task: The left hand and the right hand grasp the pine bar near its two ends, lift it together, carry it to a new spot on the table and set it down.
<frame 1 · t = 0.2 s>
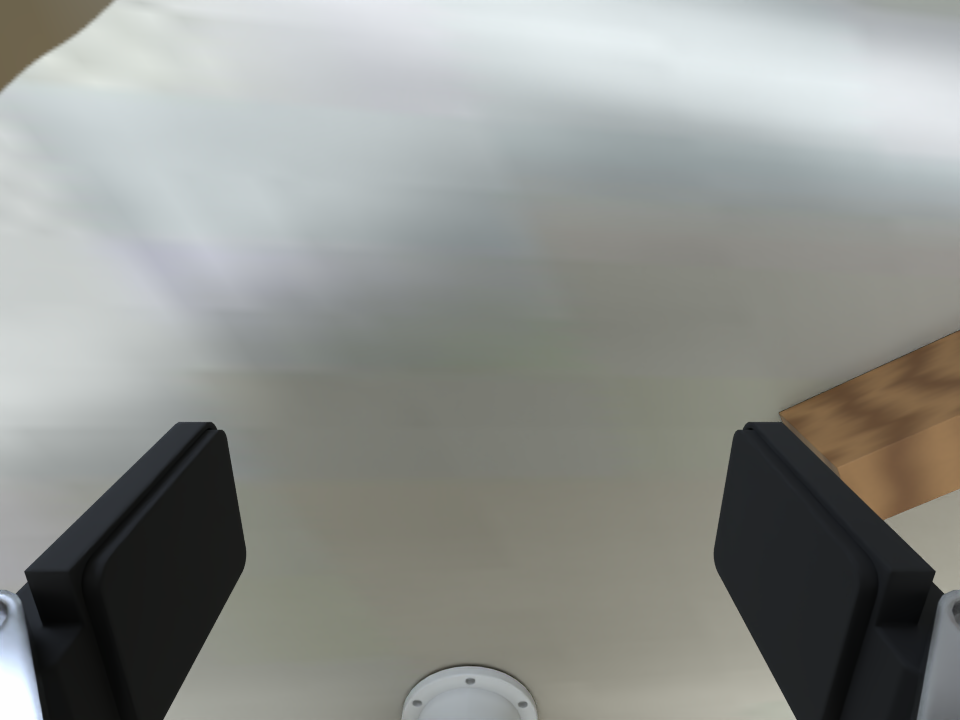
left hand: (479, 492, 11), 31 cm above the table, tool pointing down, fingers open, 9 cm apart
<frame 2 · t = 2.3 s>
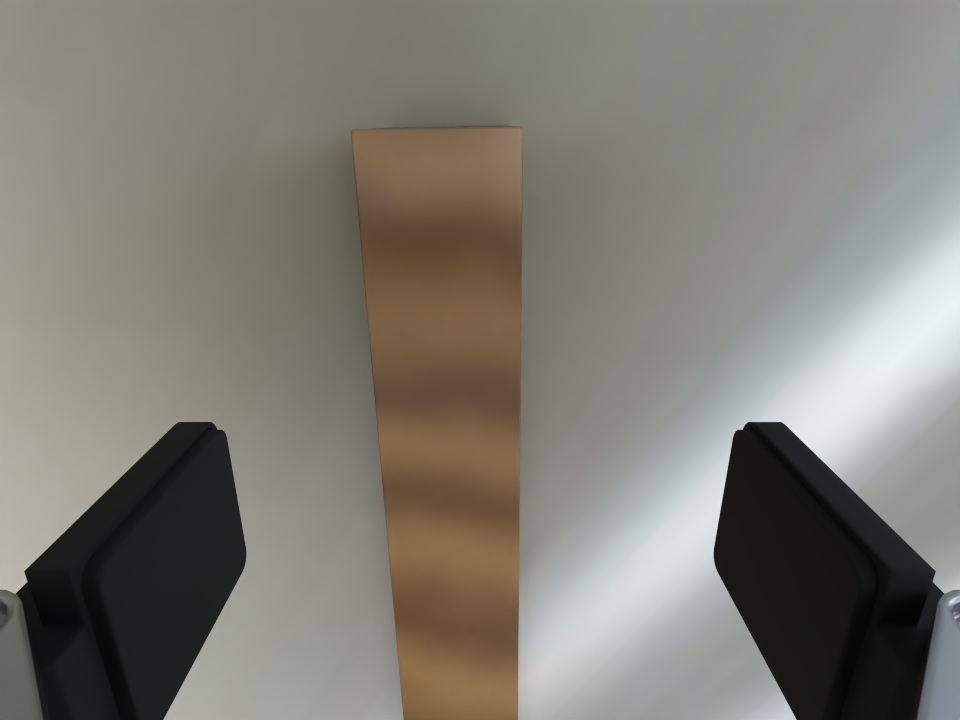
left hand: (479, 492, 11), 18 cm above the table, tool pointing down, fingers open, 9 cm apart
bar: (466, 661, 37), on the table
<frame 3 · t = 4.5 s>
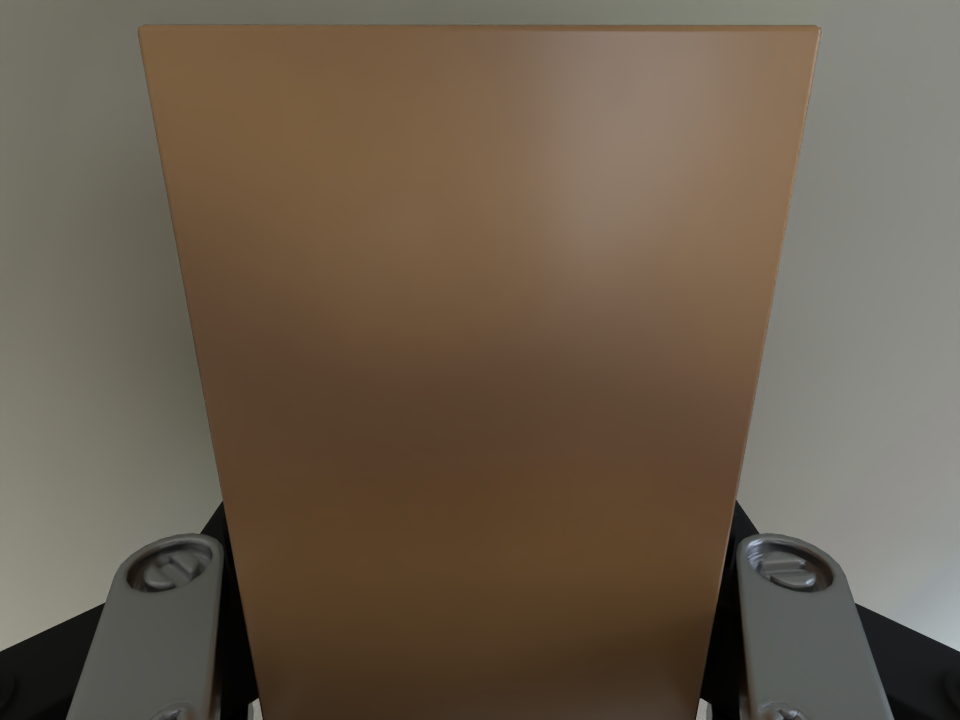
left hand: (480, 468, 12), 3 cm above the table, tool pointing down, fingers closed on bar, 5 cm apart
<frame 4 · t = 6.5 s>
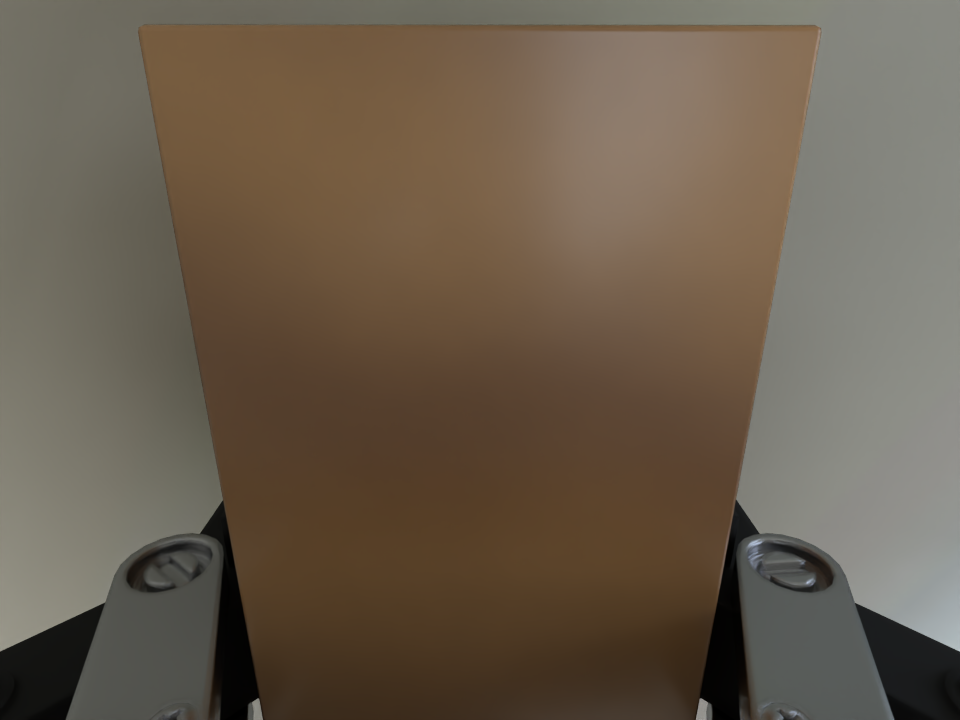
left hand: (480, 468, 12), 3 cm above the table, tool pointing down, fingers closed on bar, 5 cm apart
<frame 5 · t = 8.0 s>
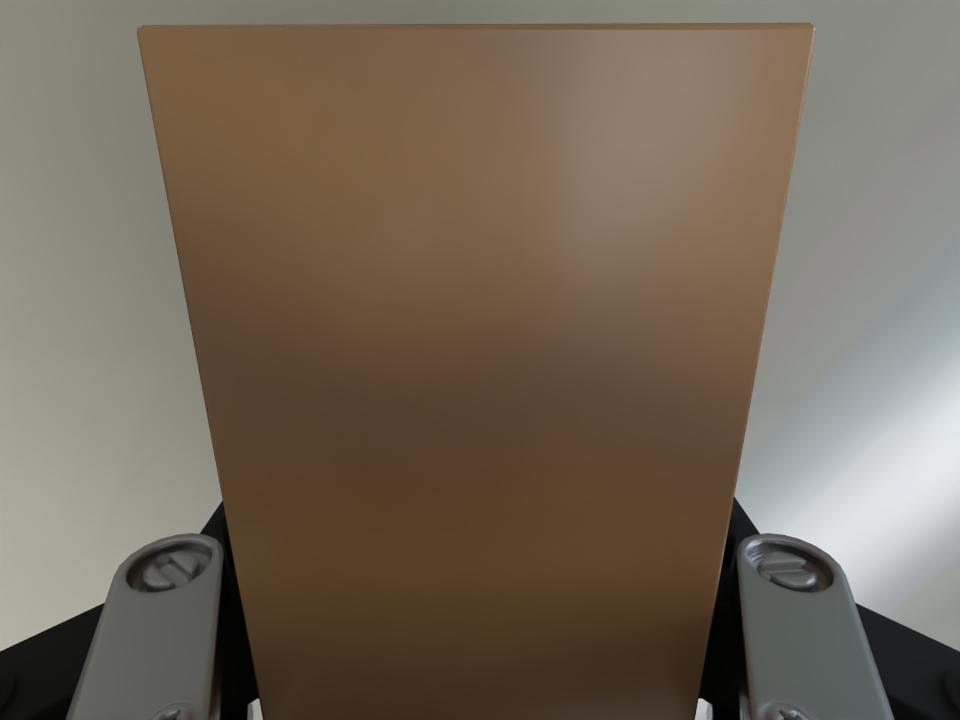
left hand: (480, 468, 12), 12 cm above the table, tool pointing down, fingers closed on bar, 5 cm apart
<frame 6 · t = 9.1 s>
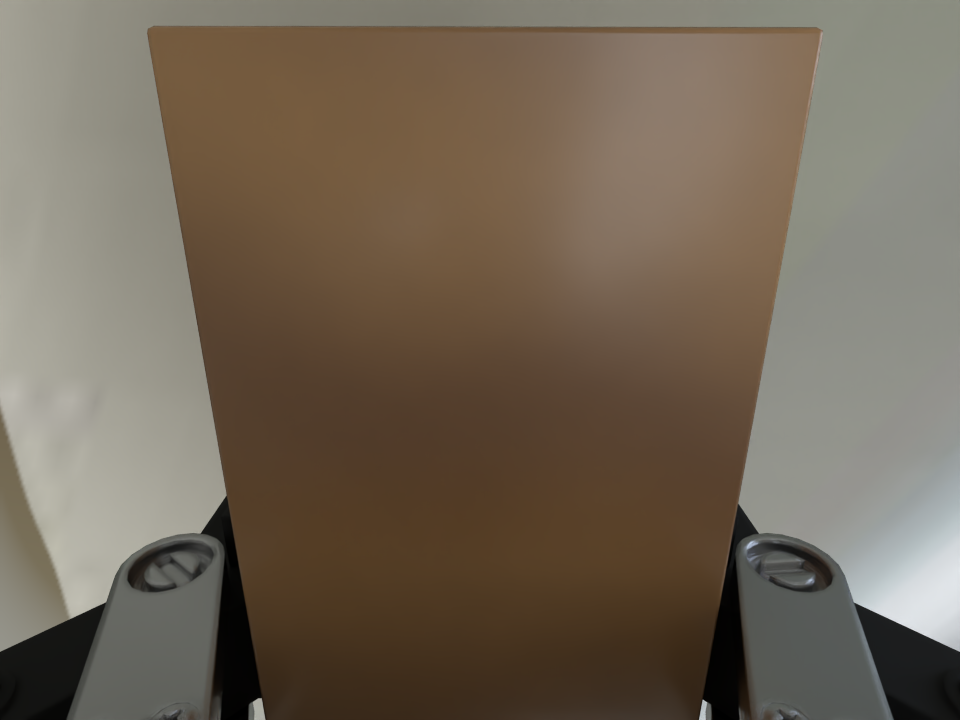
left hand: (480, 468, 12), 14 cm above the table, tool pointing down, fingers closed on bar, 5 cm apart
when the left hand's fingers open (4 cm above the table, at t = 11.6 s): bar drops 1 cm, on the table.
when the right hand's fingers open (4 cm above the table, at t = 11.6 s): bar drops 1 cm, on the table.
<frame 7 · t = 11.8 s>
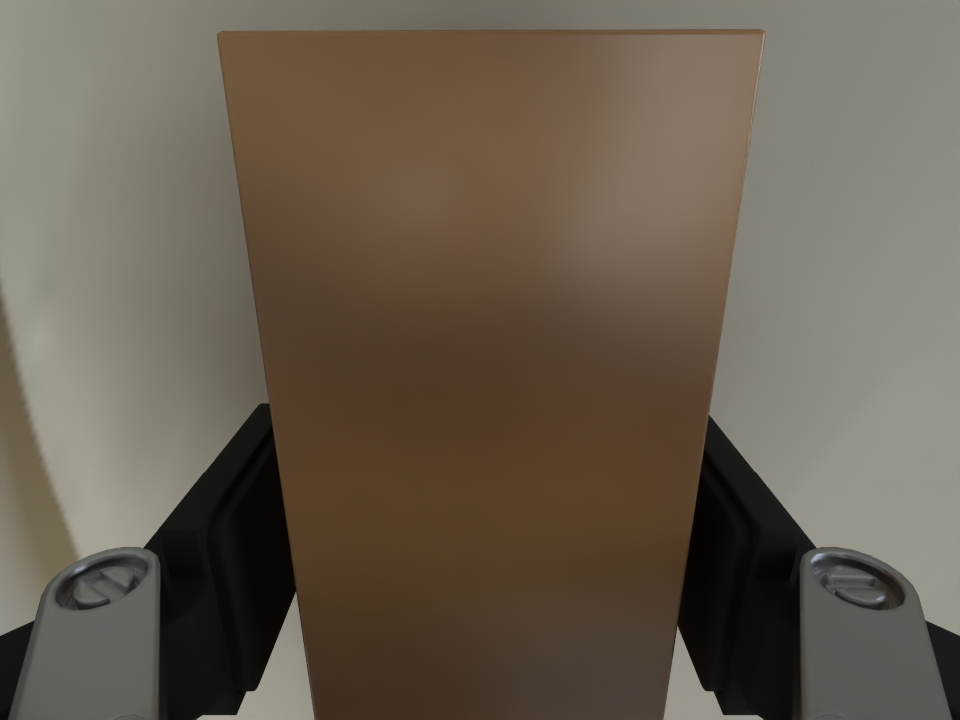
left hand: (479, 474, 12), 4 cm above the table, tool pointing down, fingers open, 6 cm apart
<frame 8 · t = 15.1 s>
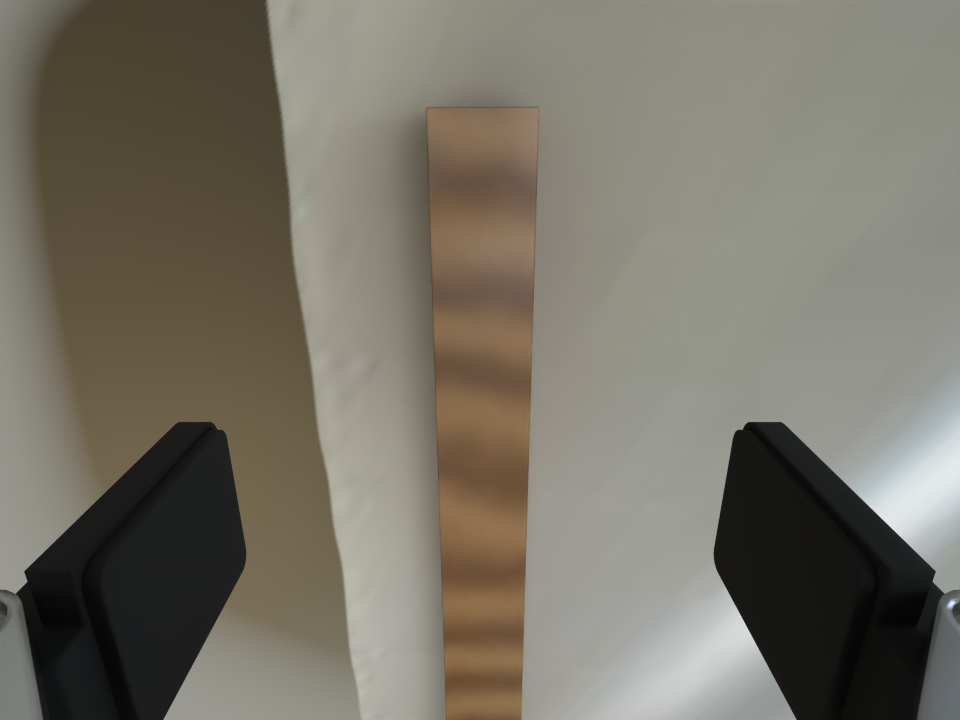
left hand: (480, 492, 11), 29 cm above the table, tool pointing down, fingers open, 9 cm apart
bar: (482, 540, 47), on the table
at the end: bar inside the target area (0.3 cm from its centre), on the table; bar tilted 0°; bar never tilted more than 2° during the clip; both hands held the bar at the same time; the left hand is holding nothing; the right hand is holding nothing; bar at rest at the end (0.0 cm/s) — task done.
